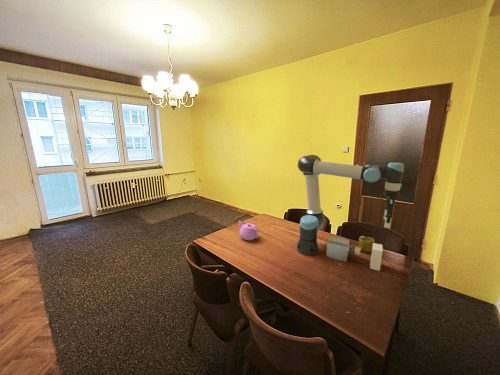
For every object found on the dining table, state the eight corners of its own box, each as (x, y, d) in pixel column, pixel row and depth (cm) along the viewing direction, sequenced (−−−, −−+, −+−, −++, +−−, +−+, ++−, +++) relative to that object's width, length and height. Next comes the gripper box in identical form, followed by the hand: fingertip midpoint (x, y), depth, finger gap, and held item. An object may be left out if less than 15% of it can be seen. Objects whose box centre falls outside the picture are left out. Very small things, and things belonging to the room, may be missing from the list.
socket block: (369, 268, 123) (372, 249, 120) (370, 260, 131) (372, 242, 128) (379, 271, 121) (382, 251, 118) (379, 263, 128) (382, 244, 125)
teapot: (263, 238, 162) (263, 224, 160) (251, 244, 153) (251, 229, 150) (244, 231, 175) (244, 217, 173) (233, 236, 166) (232, 222, 163)
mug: (379, 252, 137) (375, 237, 137) (362, 255, 139) (358, 240, 140) (373, 246, 148) (369, 233, 149) (358, 249, 151) (354, 236, 152)
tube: (330, 250, 135) (331, 242, 134) (331, 246, 140) (332, 239, 139) (359, 257, 127) (360, 249, 126) (360, 253, 131) (361, 245, 130)
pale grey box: (326, 256, 136) (327, 240, 134) (328, 250, 143) (330, 235, 141) (346, 261, 130) (347, 245, 127) (347, 255, 137) (349, 239, 135)
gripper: (402, 195, 108) (395, 232, 113) (398, 186, 129) (392, 218, 134) (385, 193, 112) (379, 229, 117) (383, 184, 133) (378, 215, 138)
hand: (386, 223), depth 126 cm, fingers open, 13 cm apart
